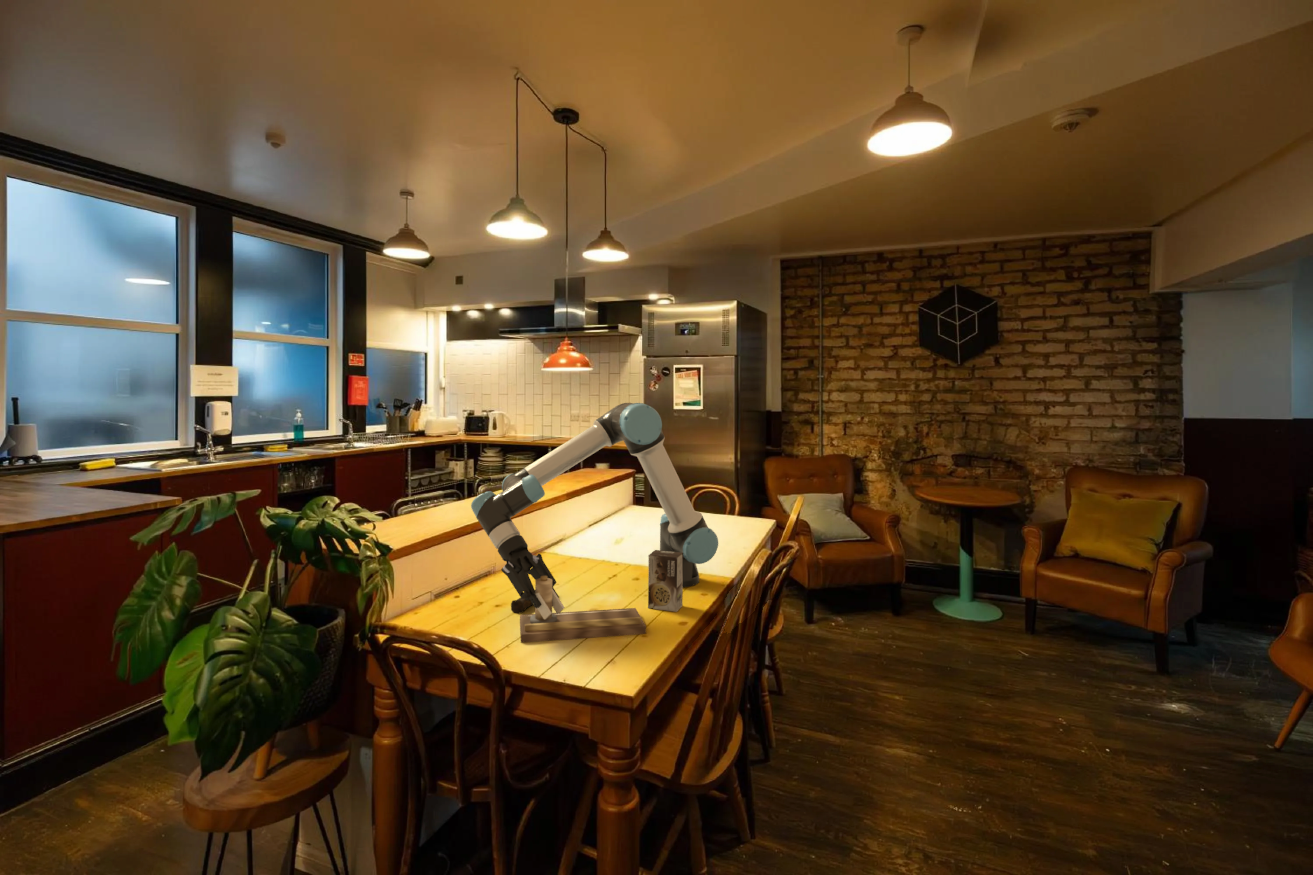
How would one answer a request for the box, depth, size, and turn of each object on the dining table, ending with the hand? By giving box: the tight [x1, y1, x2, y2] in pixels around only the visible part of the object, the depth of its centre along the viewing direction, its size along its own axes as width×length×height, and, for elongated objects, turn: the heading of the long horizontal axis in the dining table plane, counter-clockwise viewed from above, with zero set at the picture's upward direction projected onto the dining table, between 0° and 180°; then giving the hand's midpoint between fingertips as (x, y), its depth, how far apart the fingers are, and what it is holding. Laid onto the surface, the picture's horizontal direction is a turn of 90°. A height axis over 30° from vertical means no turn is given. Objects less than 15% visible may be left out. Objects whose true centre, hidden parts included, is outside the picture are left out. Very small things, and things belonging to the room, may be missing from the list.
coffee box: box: [647, 549, 684, 613], centre depth 182 cm, size 9×6×16 cm
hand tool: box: [510, 597, 534, 614], centre depth 183 cm, size 19×4×5 cm, turn 157°
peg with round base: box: [530, 576, 557, 624], centre depth 163 cm, size 7×7×12 cm
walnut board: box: [519, 607, 647, 643], centre depth 165 cm, size 32×14×4 cm, turn 103°
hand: (554, 613), depth 161 cm, fingers closed on peg with round base, 4 cm apart
